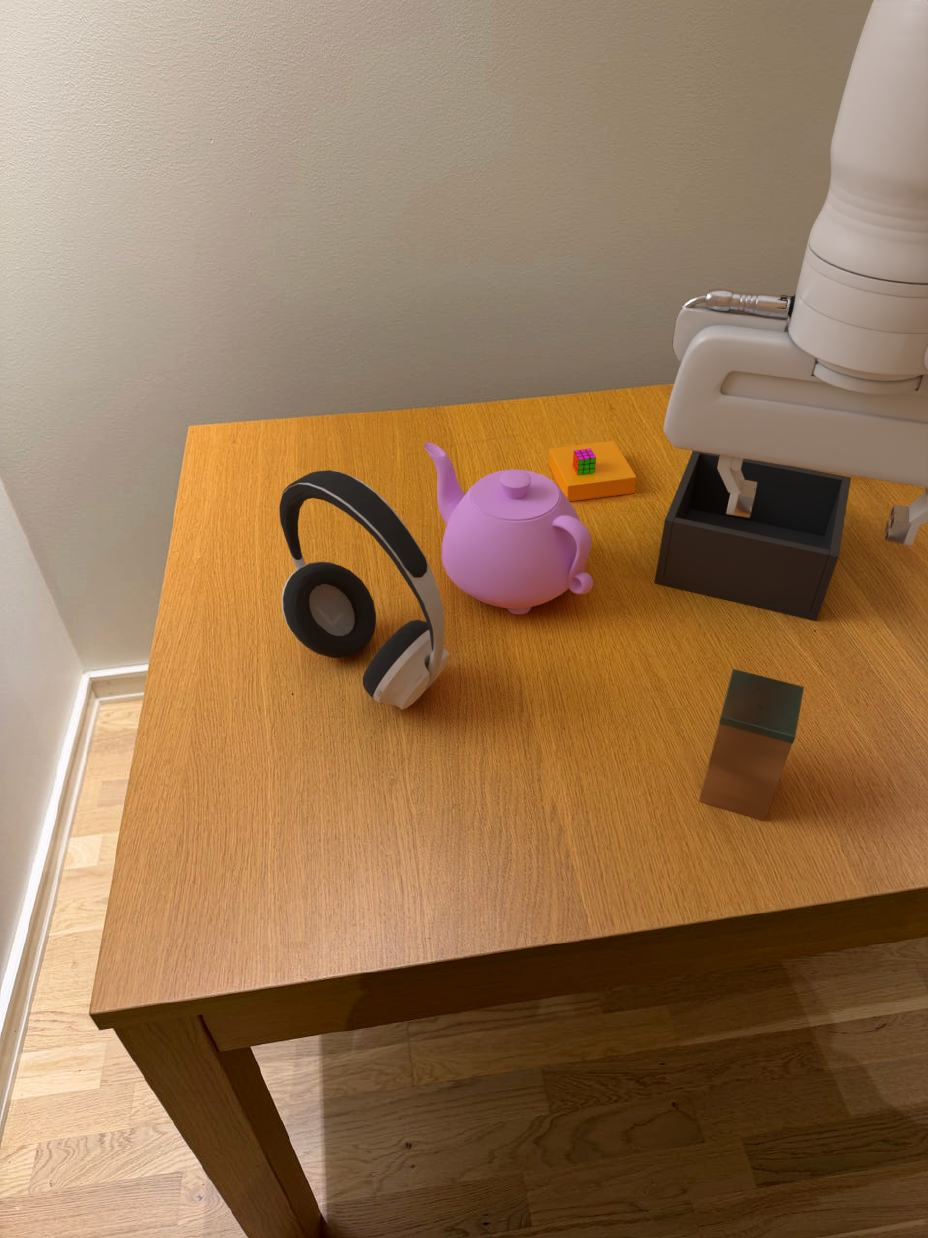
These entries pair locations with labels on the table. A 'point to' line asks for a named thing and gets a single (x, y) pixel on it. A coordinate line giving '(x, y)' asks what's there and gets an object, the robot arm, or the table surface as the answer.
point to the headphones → (362, 593)
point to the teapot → (510, 537)
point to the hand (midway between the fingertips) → (816, 524)
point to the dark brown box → (755, 536)
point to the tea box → (751, 743)
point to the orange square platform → (591, 471)
